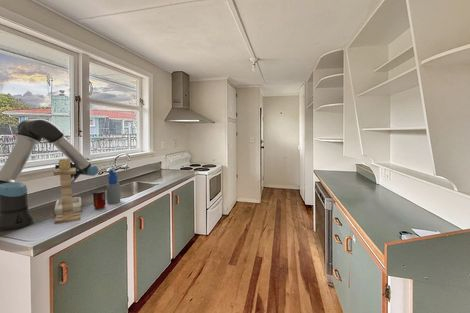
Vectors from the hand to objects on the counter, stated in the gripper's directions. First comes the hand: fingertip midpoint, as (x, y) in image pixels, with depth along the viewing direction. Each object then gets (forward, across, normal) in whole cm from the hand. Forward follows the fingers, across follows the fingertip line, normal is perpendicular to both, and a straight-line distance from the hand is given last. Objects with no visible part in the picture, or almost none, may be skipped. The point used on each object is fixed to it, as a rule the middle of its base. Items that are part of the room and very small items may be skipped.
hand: (65, 161), depth 139 cm
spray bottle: (-30, -27, -22) cm, 46 cm away
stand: (-11, 0, -33) cm, 35 cm away
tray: (-31, 0, -22) cm, 38 cm away
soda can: (-22, -17, -27) cm, 39 cm away
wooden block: (-2, 0, -4) cm, 4 cm away
